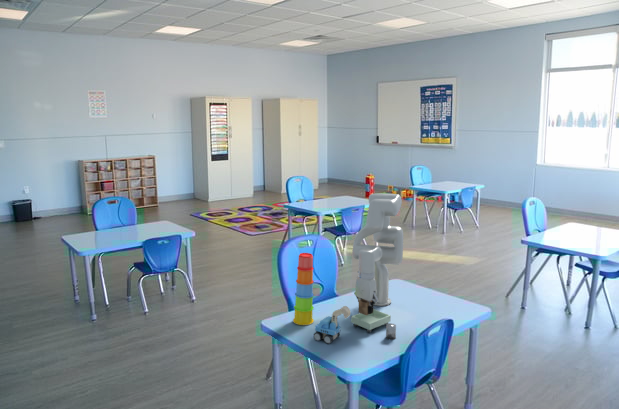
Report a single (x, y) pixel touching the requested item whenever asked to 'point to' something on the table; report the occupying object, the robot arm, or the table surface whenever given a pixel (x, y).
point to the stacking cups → (304, 290)
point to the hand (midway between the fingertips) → (366, 311)
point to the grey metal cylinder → (391, 331)
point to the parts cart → (371, 320)
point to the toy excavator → (330, 326)
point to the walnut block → (363, 307)
